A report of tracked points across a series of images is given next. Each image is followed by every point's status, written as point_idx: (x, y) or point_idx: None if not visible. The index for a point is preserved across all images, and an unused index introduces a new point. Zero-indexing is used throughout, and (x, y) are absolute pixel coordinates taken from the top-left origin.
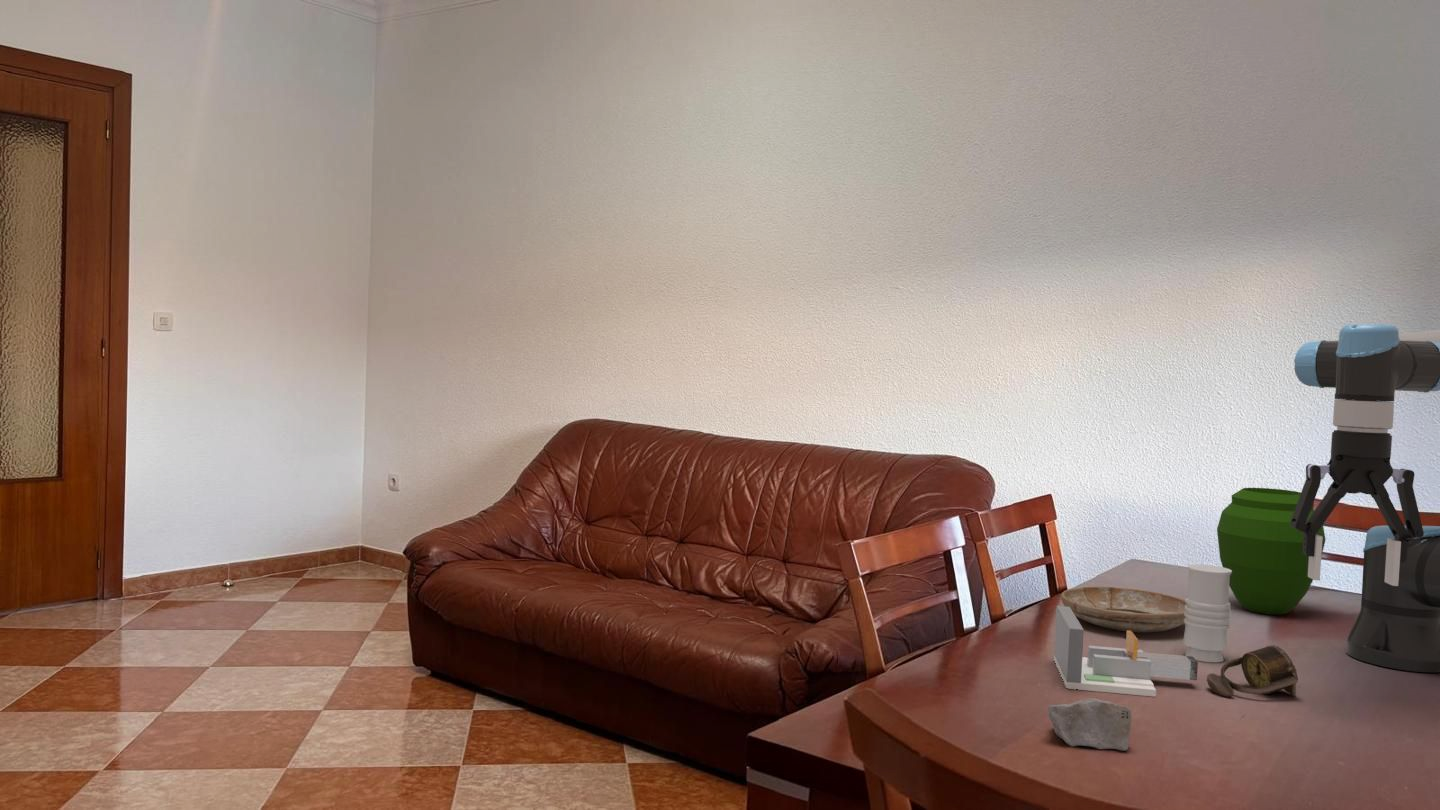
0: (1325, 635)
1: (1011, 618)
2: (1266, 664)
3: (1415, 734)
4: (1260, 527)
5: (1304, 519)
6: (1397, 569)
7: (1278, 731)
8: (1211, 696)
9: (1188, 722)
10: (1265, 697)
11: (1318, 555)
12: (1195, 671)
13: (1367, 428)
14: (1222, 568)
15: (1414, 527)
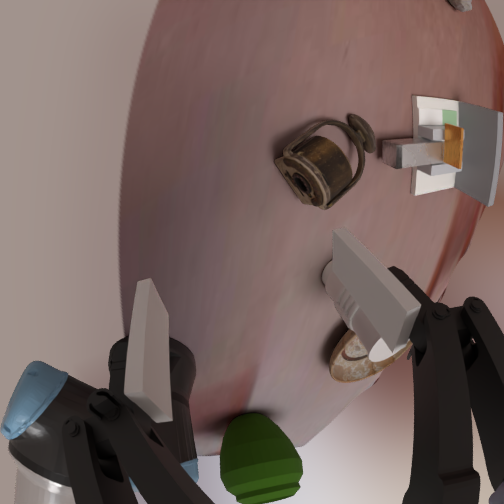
0: (209, 393)
1: (441, 291)
2: (332, 145)
3: (151, 67)
4: (279, 469)
5: (483, 328)
6: (136, 313)
7: (316, 11)
8: (366, 115)
9: (391, 23)
10: (311, 137)
11: (377, 266)
12: (390, 142)
13: None
14: (375, 354)
15: (85, 449)
